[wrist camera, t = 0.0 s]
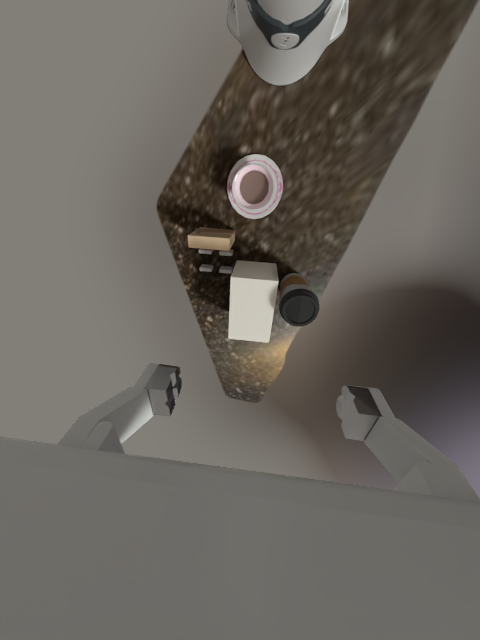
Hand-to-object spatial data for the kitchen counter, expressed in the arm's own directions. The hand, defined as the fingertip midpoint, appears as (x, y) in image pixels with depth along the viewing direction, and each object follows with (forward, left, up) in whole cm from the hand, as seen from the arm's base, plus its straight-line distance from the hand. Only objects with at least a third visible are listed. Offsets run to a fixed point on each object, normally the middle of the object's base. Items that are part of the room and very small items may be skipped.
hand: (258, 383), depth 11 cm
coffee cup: (+13, +9, -48) cm, 51 cm away
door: (+2, -11, -48) cm, 49 cm away
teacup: (-8, -3, -48) cm, 49 cm away
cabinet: (+15, -5, -48) cm, 51 cm away
